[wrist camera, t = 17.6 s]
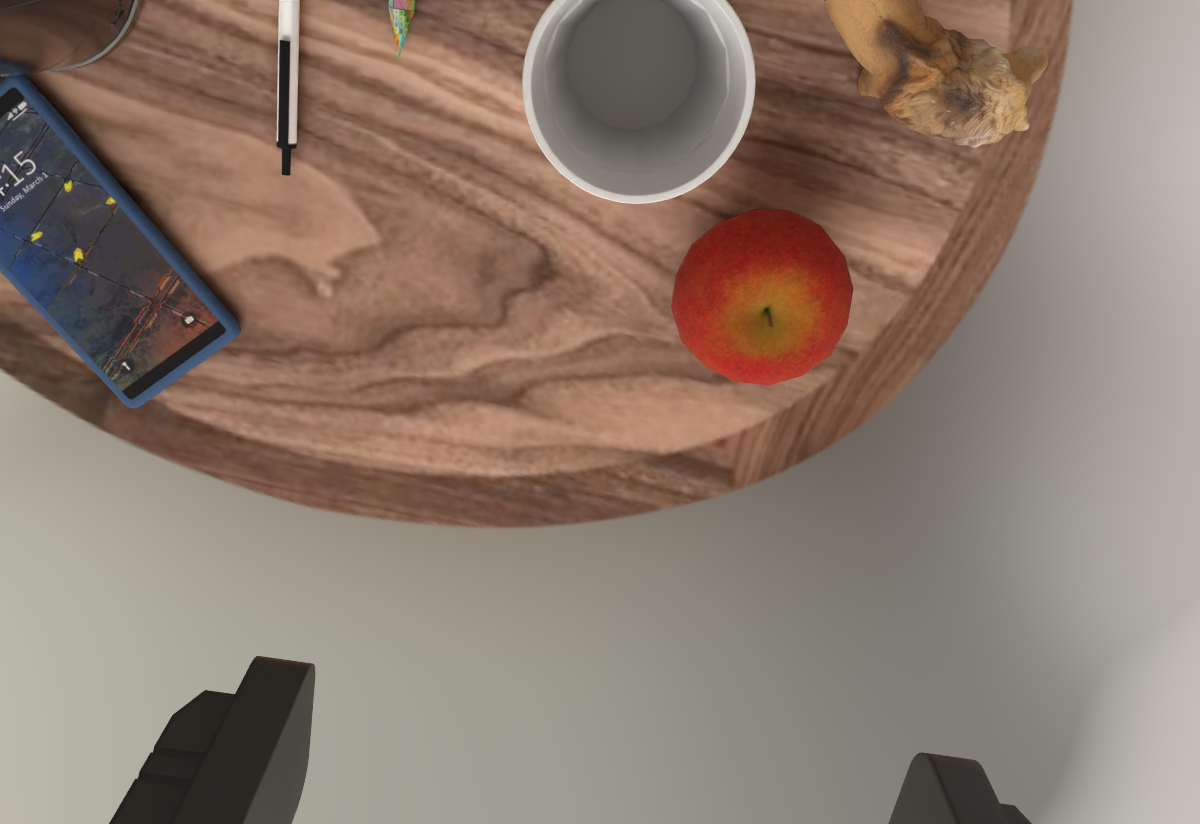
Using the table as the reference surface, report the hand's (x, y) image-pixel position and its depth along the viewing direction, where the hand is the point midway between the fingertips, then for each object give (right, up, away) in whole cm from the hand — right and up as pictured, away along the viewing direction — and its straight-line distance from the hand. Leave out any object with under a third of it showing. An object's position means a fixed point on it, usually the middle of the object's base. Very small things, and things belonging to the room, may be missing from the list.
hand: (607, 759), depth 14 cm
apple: (+7, +11, +37) cm, 39 cm away
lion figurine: (+11, +23, +32) cm, 41 cm away
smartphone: (-21, +6, +38) cm, 44 cm away
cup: (+1, +20, +33) cm, 39 cm away
